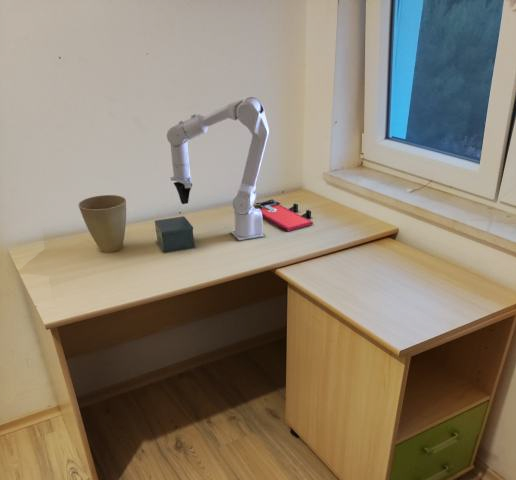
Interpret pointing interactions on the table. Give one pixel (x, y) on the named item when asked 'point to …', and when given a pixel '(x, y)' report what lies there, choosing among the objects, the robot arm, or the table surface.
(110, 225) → the plant pot
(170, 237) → the bin
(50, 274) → the table surface
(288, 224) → the red board with handle
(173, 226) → the bin lid
